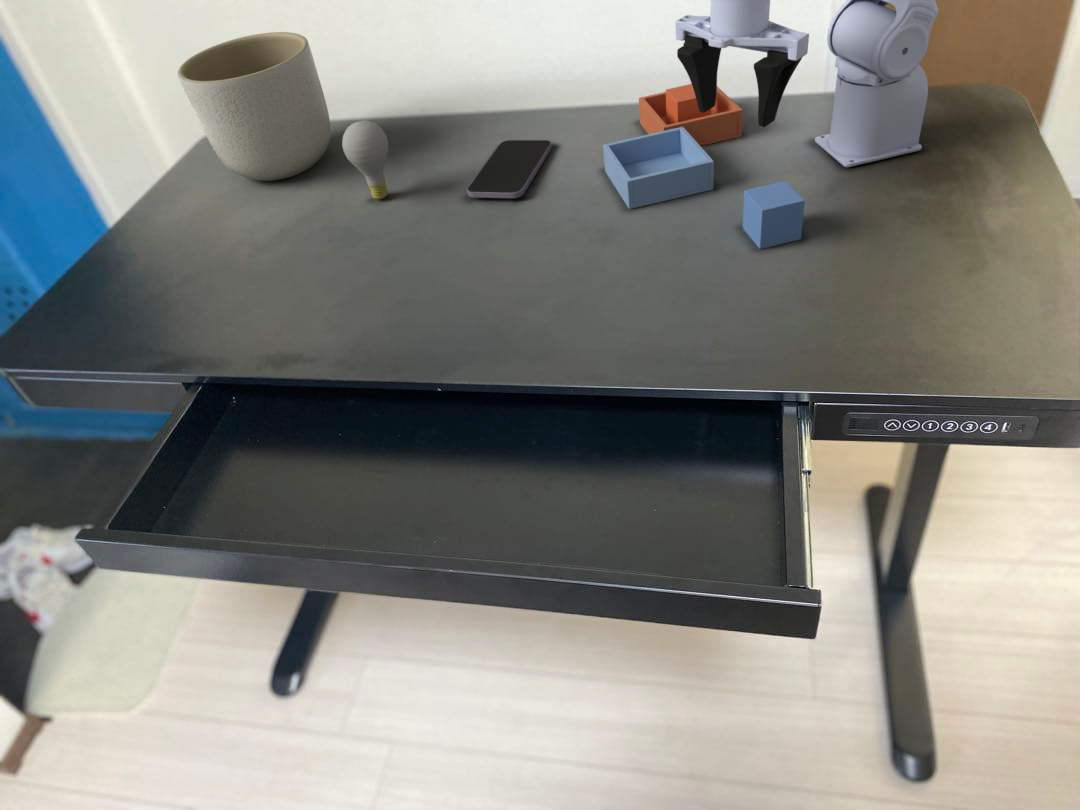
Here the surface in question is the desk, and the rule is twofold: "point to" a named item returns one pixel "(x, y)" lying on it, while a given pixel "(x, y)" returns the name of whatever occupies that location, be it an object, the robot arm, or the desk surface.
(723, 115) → the terracotta bin
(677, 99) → the terracotta block
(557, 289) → the desk surface
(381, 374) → the desk surface
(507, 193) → the smartphone
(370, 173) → the light bulb
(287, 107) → the planter
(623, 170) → the slate-blue bin
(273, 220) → the desk surface
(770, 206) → the slate-blue block
